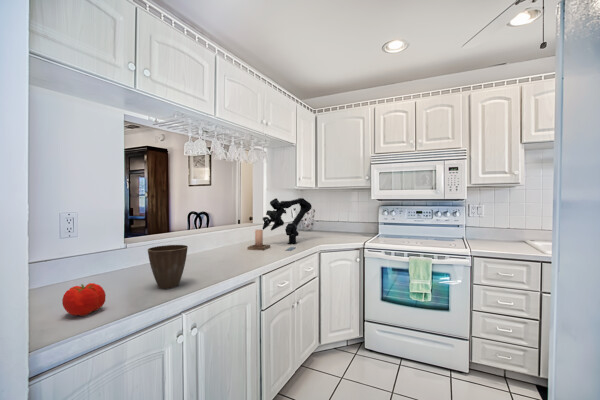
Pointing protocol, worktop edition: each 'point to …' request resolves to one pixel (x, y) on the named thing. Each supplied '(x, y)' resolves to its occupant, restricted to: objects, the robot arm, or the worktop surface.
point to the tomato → (83, 299)
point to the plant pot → (167, 264)
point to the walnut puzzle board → (258, 247)
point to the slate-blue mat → (290, 248)
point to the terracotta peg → (258, 238)
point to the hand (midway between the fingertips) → (266, 229)
